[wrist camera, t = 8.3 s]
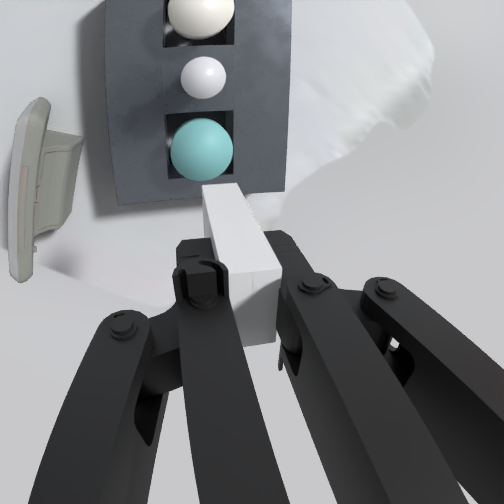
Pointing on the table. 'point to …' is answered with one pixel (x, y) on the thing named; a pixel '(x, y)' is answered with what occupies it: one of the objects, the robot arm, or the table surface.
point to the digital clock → (38, 184)
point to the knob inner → (199, 17)
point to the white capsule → (203, 77)
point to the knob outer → (201, 149)
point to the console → (179, 101)
